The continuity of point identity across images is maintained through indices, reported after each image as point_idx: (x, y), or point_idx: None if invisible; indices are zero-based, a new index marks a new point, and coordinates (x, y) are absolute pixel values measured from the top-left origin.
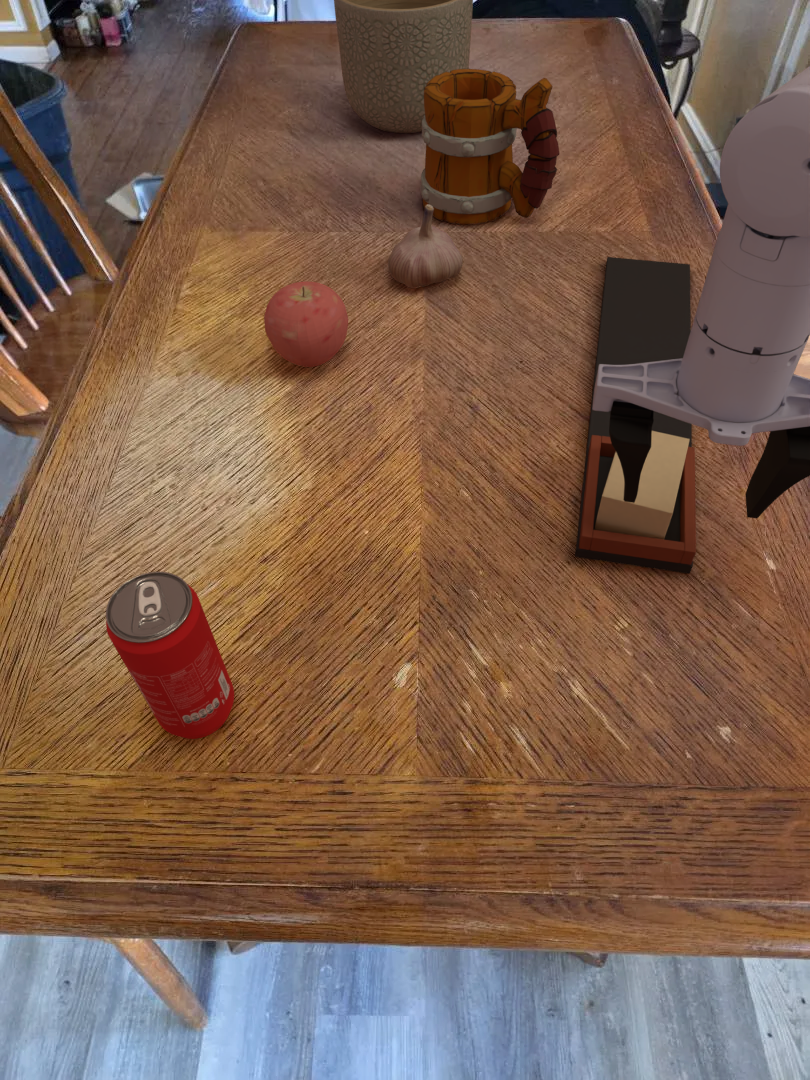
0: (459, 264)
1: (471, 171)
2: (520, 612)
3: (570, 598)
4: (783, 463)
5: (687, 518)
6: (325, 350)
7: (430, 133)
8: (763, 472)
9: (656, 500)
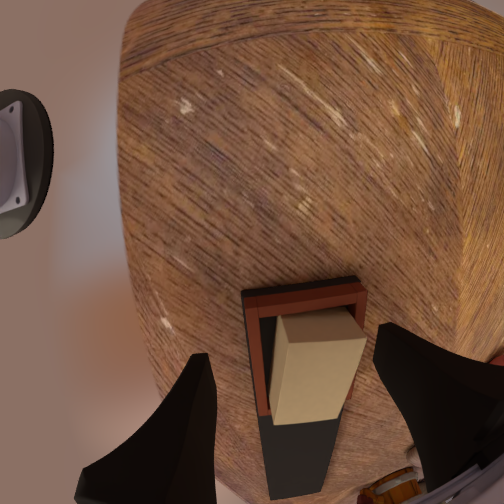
0: (412, 457)
1: (401, 495)
2: (396, 194)
3: (356, 223)
4: (176, 483)
5: (258, 347)
6: None
7: None
8: (205, 430)
9: (308, 353)
